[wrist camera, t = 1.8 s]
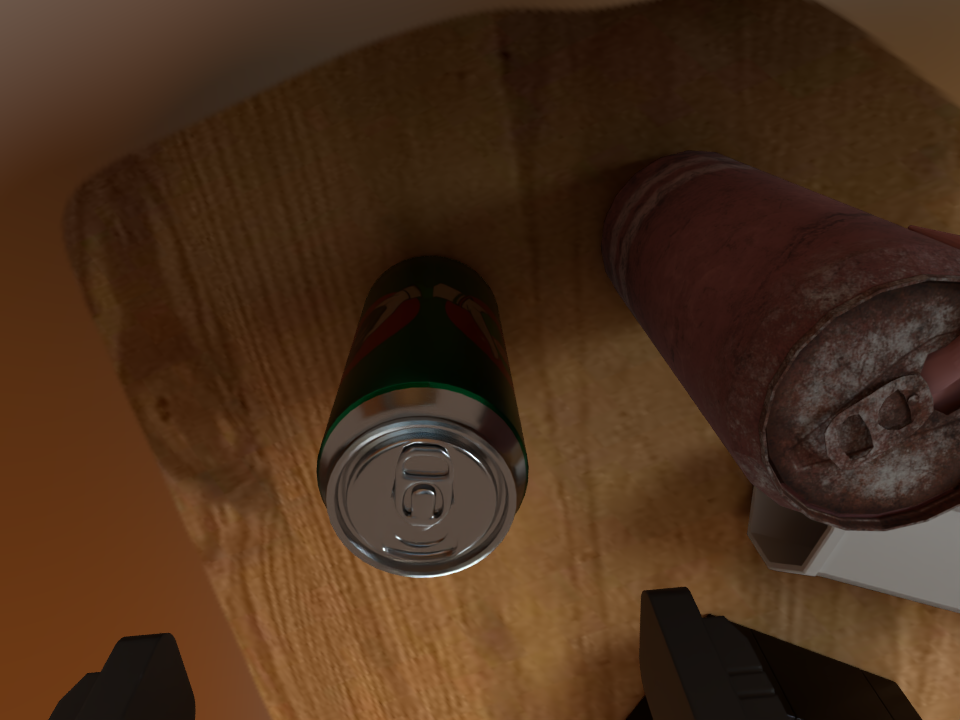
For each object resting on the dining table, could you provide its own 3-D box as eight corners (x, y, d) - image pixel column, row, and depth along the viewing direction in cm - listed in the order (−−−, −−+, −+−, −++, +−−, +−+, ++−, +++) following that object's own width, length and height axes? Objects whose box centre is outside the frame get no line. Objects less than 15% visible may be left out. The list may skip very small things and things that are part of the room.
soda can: (363, 371, 28) (309, 588, 17) (365, 246, 26) (306, 398, 15) (491, 379, 28) (521, 595, 17) (504, 255, 26) (546, 411, 15)
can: (798, 180, 25) (1159, 319, 13) (710, 333, 28) (938, 582, 15) (650, 112, 24) (883, 190, 11) (570, 278, 26) (689, 497, 14)
